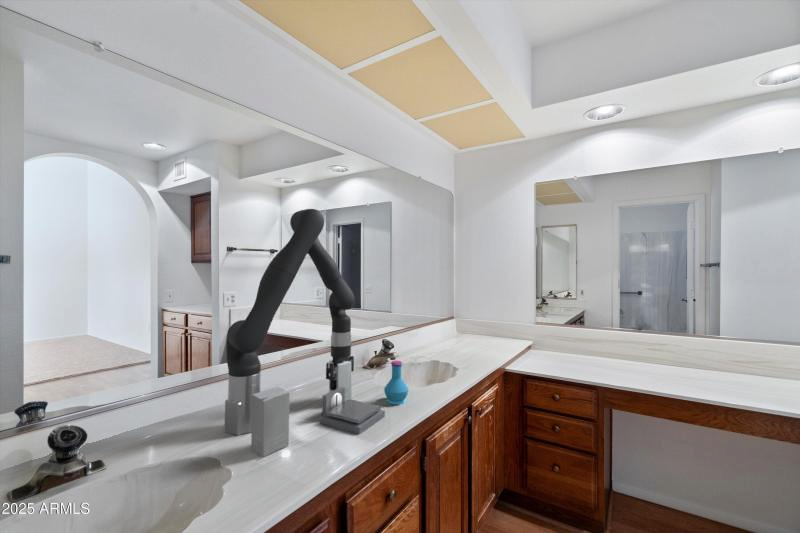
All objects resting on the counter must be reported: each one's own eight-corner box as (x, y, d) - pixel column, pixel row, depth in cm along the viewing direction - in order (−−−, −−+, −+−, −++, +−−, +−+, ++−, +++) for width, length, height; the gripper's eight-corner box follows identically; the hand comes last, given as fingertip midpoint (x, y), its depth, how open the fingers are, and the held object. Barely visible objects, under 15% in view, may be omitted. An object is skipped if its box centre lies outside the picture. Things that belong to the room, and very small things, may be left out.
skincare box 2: (351, 402, 134) (353, 362, 135) (336, 405, 131) (338, 364, 131) (341, 396, 141) (343, 357, 142) (327, 398, 138) (328, 359, 138)
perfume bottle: (412, 403, 135) (412, 363, 135) (388, 407, 132) (389, 365, 132) (402, 395, 143) (403, 357, 144) (380, 398, 140) (381, 359, 140)
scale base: (359, 434, 110) (359, 407, 110) (317, 422, 118) (317, 397, 118) (384, 416, 123) (385, 393, 123) (345, 407, 131) (345, 384, 131)
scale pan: (358, 425, 111) (358, 420, 111) (325, 416, 117) (325, 411, 117) (380, 410, 123) (380, 406, 123) (349, 403, 129) (349, 399, 129)
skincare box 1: (276, 439, 106) (277, 385, 106) (290, 447, 101) (291, 390, 101) (248, 450, 99) (249, 392, 99) (262, 459, 95) (263, 398, 95)
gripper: (344, 339, 144) (343, 380, 144) (320, 345, 132) (319, 390, 132) (360, 341, 141) (359, 383, 141) (337, 348, 128) (336, 394, 128)
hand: (340, 386), depth 136 cm, fingers closed on skincare box 2, 7 cm apart
